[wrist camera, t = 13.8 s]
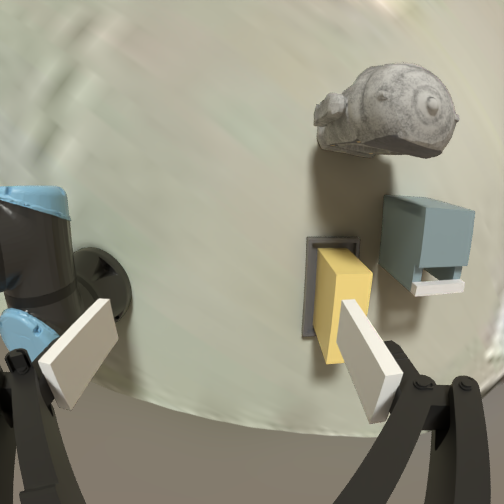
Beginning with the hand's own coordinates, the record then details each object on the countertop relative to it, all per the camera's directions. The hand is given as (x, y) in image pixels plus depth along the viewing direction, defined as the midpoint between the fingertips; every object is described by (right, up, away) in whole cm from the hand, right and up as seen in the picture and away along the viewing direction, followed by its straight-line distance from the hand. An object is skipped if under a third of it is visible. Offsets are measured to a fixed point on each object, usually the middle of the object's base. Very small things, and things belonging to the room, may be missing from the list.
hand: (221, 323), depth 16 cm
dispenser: (+28, +8, +32) cm, 43 cm away
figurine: (+17, +24, +27) cm, 40 cm away
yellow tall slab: (+15, -2, +34) cm, 37 cm away
